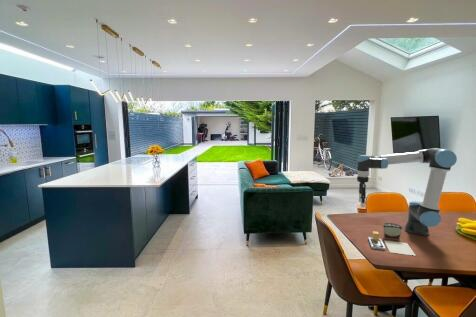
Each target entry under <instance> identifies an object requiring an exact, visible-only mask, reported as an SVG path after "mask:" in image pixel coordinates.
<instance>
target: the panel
mask: <svg viewBox="0 0 476 317" xmlns="http://www.w3.org/2000/svg"><path fill="white" fill-rule="evenodd" d="M367 240H368V243H369V245H370V248H371V249H372V250H373V249H374V250H381V251H386V250H387V248H386V245H385V243H384V241H383V240H382V238H379V241H375V240H373V238H372V237H369V236H368V237H367Z"/></svg>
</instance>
